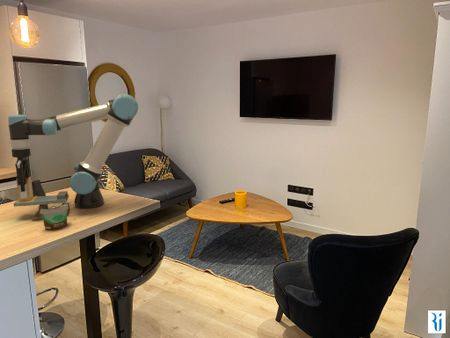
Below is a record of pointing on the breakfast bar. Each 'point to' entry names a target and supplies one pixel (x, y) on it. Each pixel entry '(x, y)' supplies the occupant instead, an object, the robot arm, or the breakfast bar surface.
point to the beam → (45, 200)
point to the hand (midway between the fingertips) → (25, 196)
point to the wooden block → (29, 189)
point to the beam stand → (45, 206)
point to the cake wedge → (55, 217)
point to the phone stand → (37, 188)
